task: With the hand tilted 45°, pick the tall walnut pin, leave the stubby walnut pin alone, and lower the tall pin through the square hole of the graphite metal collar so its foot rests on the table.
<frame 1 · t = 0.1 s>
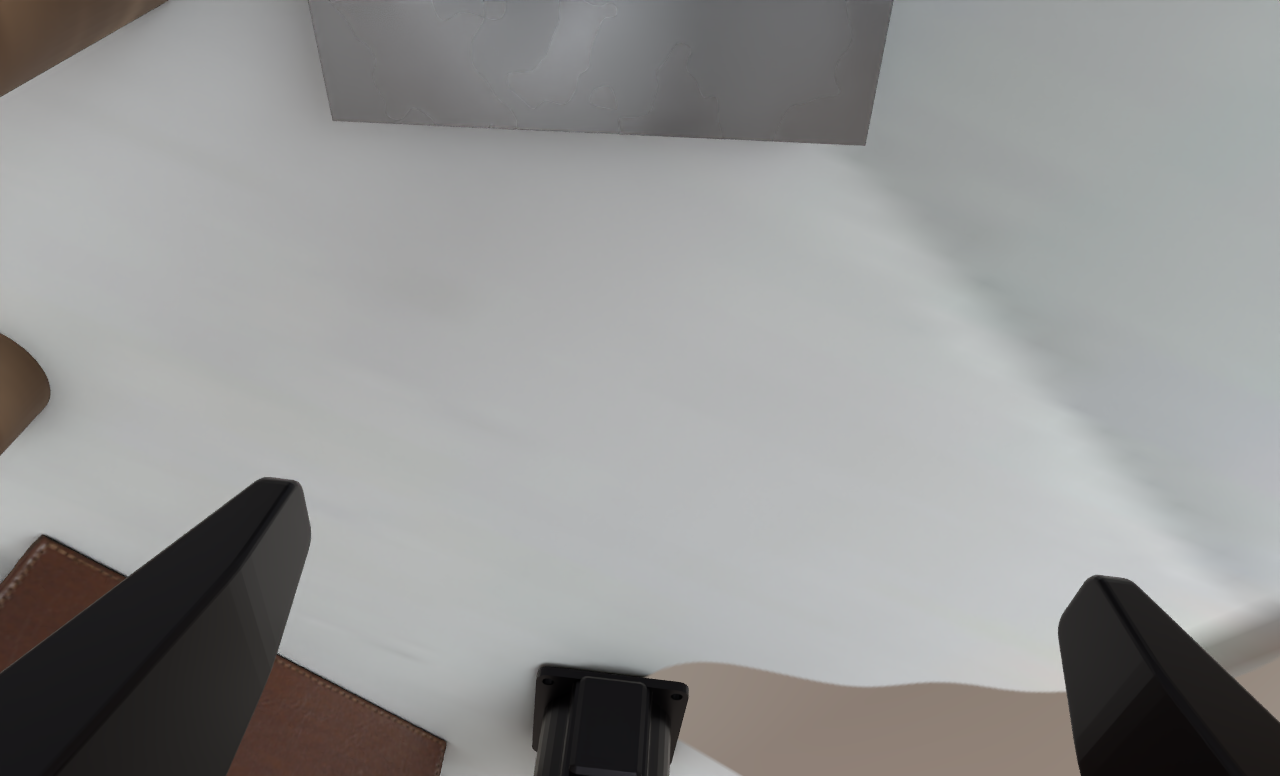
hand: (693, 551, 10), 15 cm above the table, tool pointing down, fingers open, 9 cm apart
letter holder: (218, 681, 40), on the table
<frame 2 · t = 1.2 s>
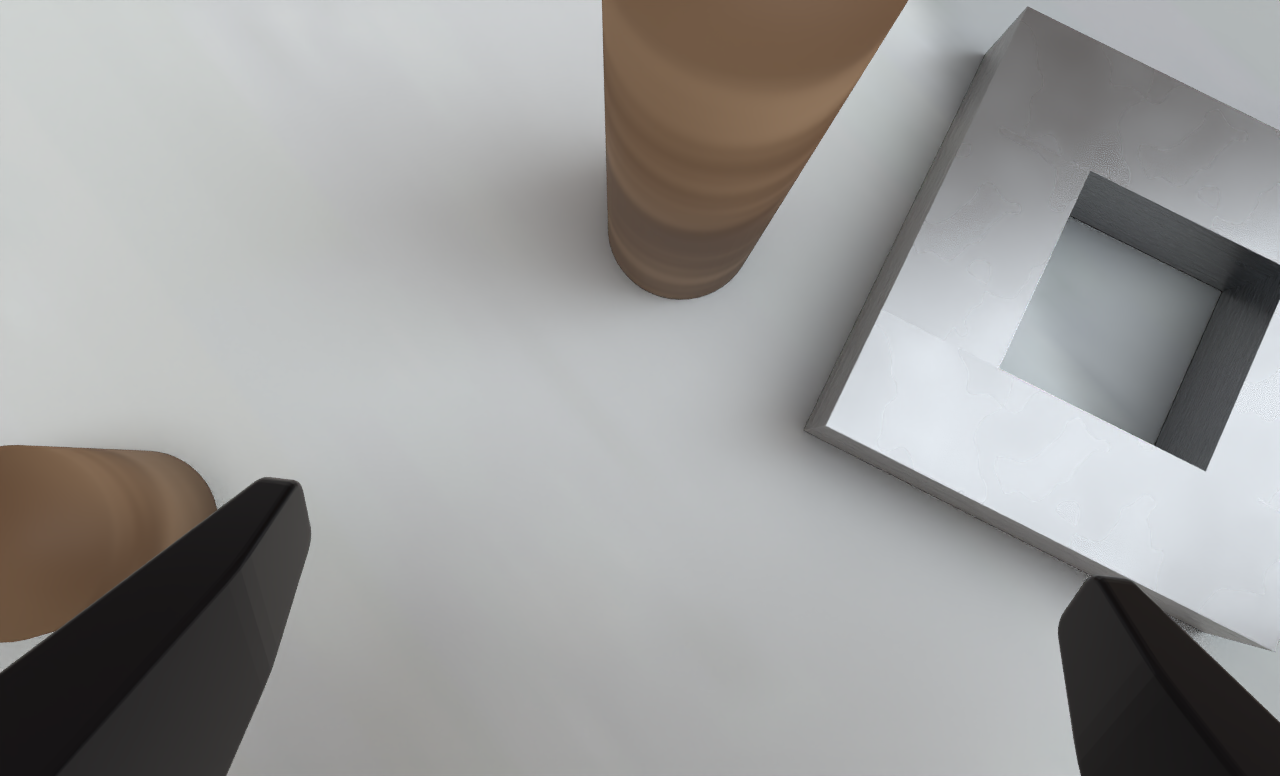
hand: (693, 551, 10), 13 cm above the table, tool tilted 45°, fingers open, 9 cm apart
hole collar: (1091, 334, 24), on the table
tall pin: (680, 227, 24), on the table
stub pin: (141, 527, 23), on the table
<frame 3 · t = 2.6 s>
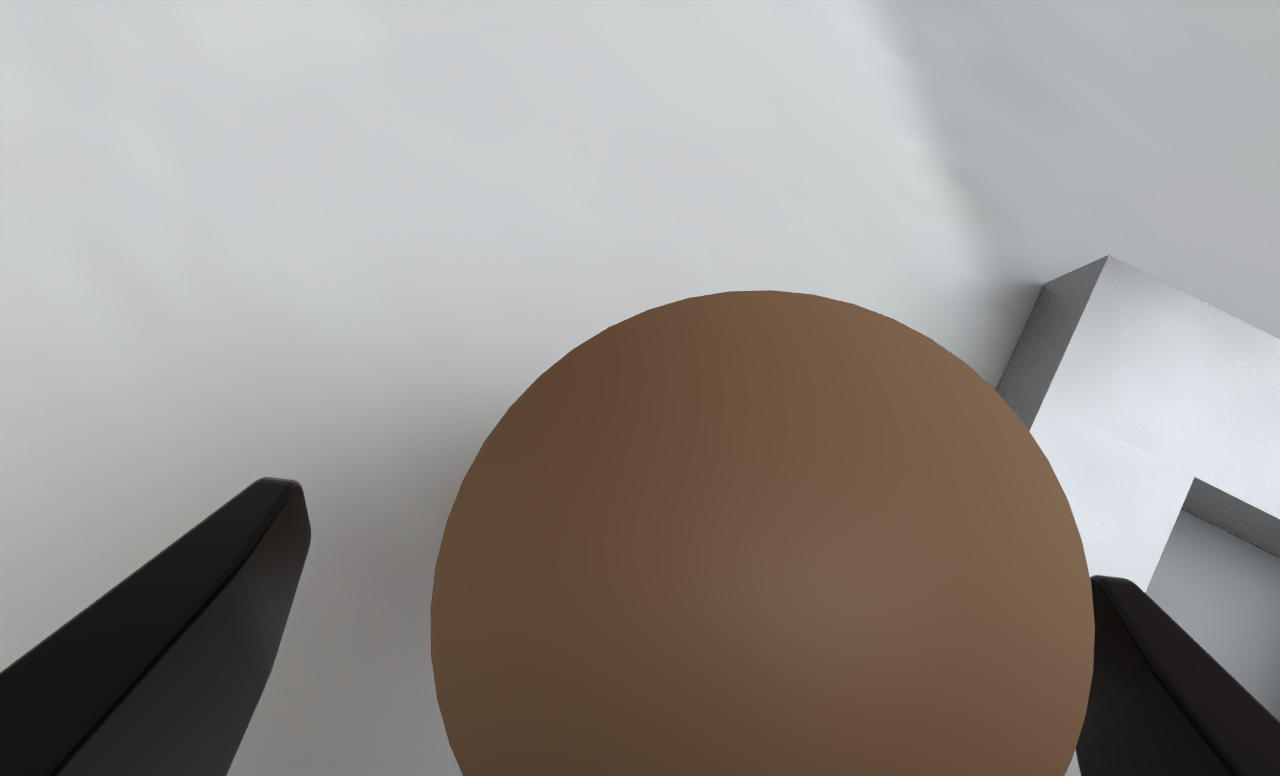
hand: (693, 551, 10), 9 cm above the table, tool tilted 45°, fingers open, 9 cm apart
hole collar: (1185, 652, 19), on the table
tall pin: (656, 516, 19), on the table
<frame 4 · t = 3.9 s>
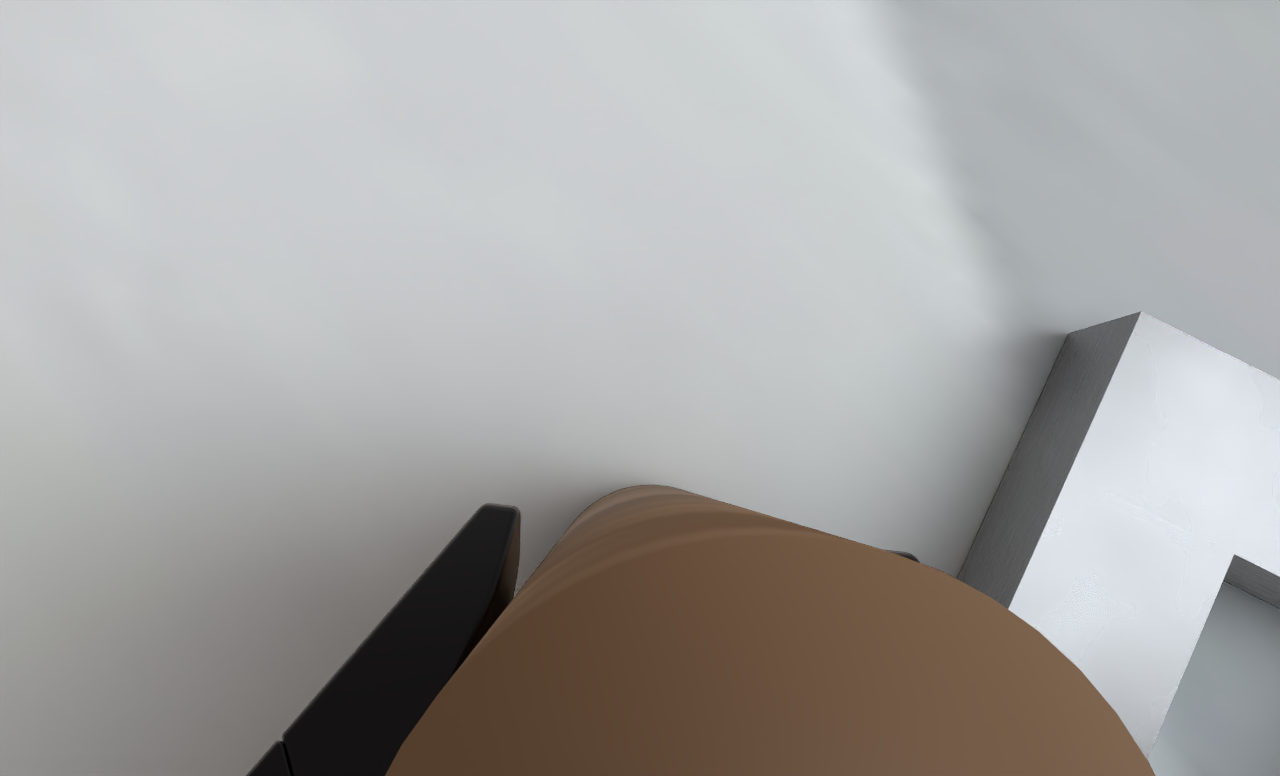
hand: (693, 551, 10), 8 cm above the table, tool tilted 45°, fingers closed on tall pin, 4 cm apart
hole collar: (1218, 732, 17), on the table
tall pin: (650, 585, 17), on the table, touching gripper
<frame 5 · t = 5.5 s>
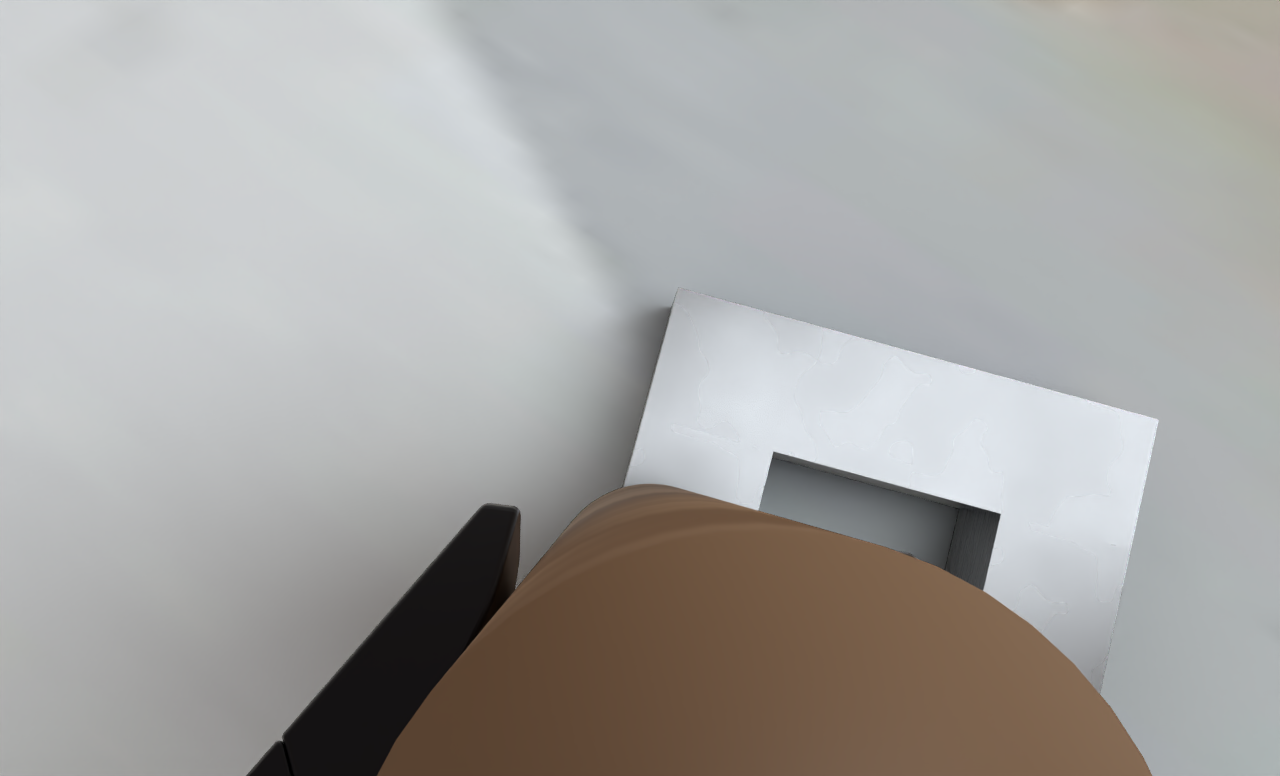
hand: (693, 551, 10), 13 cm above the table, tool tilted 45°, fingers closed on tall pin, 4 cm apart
hole collar: (832, 584, 23), on the table
tall pin: (649, 584, 17), point 5 cm above the table, touching gripper
when the fingers open (9 cm above the table, at t = 7.2 s): tall pin drops 1 cm, resting in hole collar.
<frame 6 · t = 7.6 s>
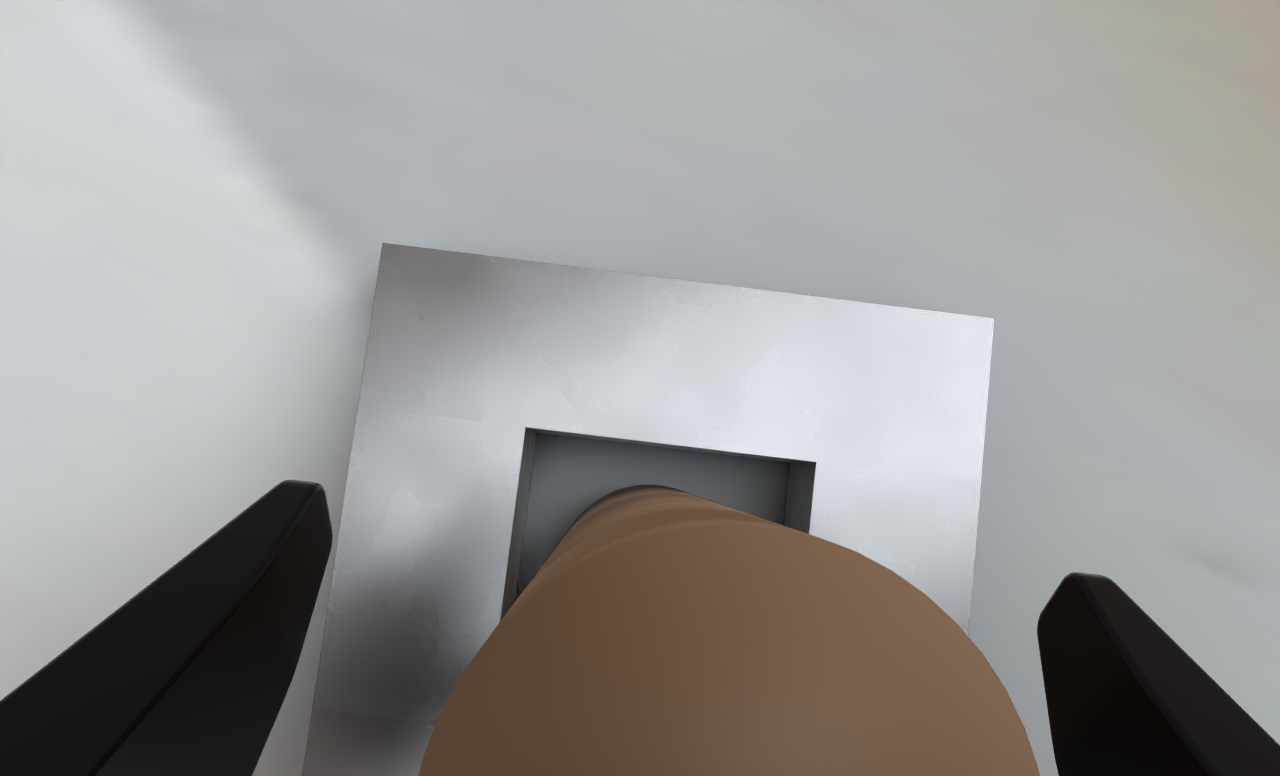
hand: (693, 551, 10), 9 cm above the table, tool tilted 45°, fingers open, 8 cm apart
hole collar: (649, 576, 19), on the table
tall pin: (648, 577, 19), resting in hole collar
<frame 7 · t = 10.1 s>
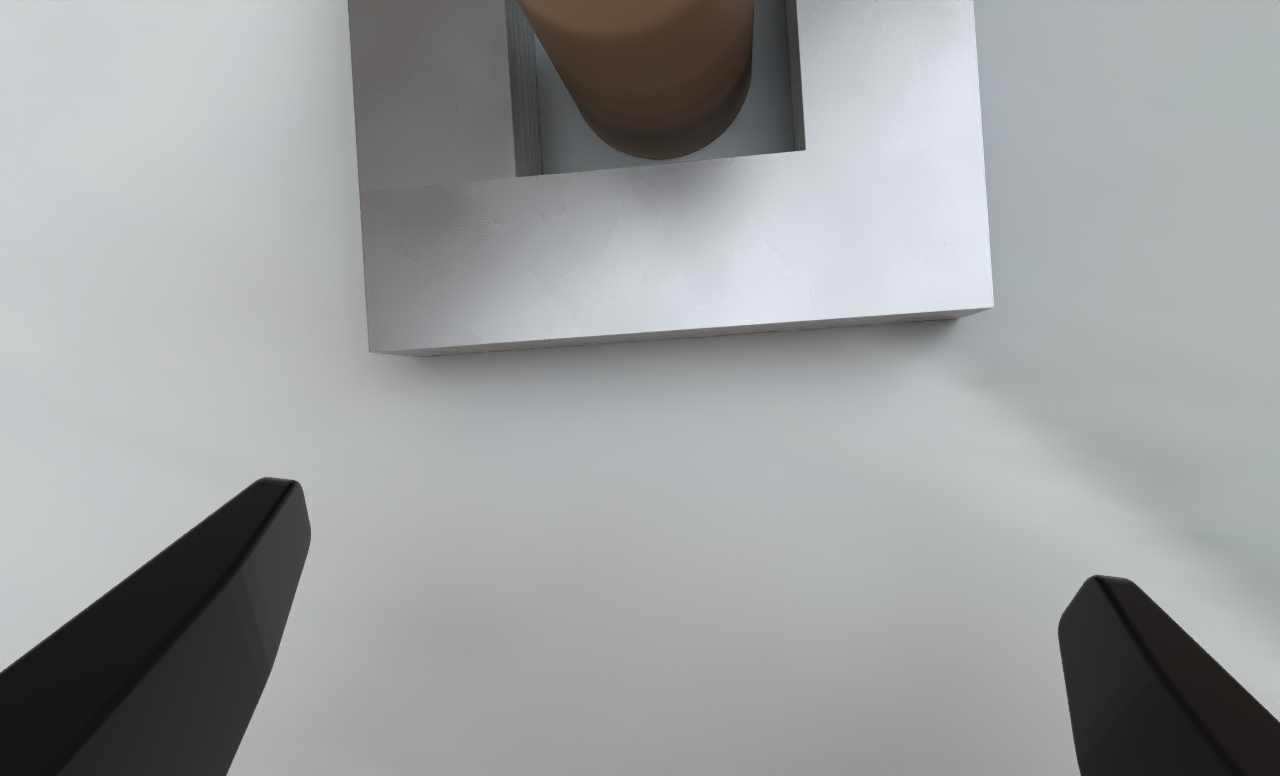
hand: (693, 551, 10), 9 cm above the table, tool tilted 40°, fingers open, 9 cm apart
hole collar: (660, 67, 19), on the table
tall pin: (660, 68, 19), resting in hole collar
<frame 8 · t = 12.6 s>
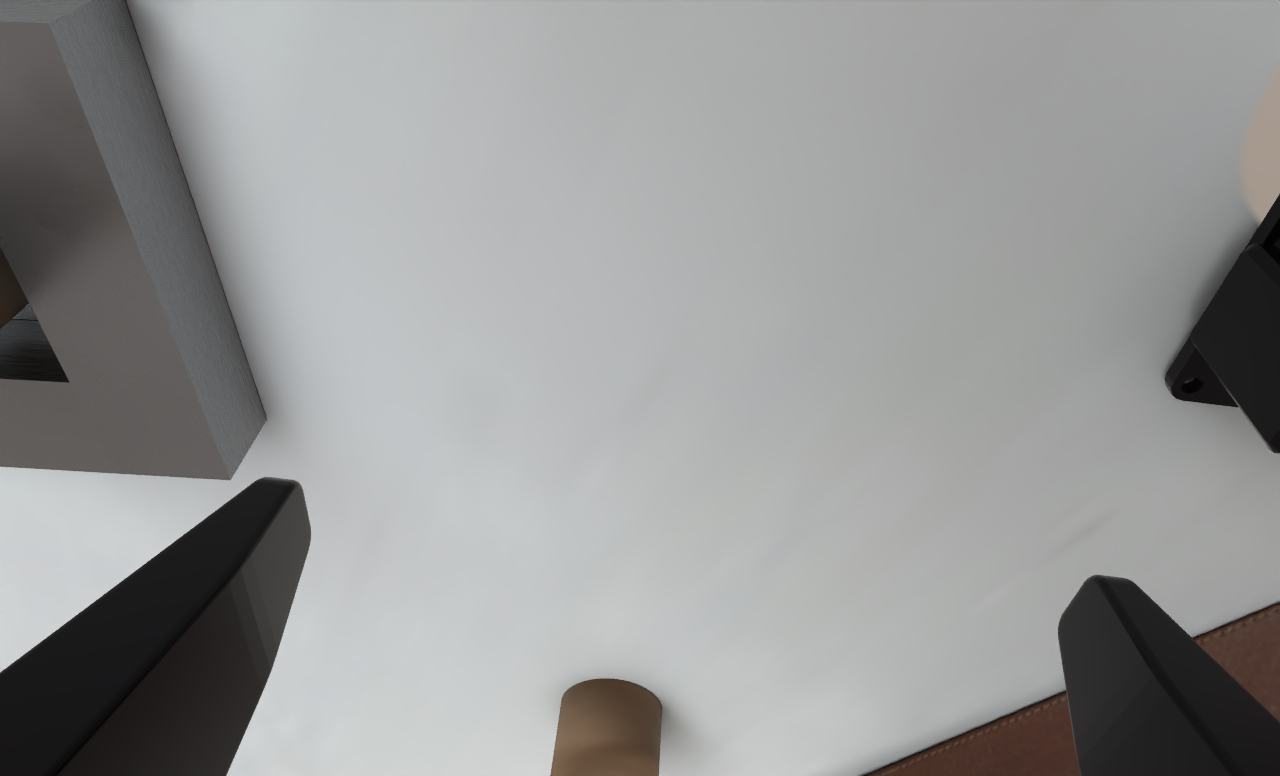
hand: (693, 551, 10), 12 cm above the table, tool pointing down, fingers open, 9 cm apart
letter holder: (1128, 733, 34), on the table
stub pin: (611, 707, 34), on the table
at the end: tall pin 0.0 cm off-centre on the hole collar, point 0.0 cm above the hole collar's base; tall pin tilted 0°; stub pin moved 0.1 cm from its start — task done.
